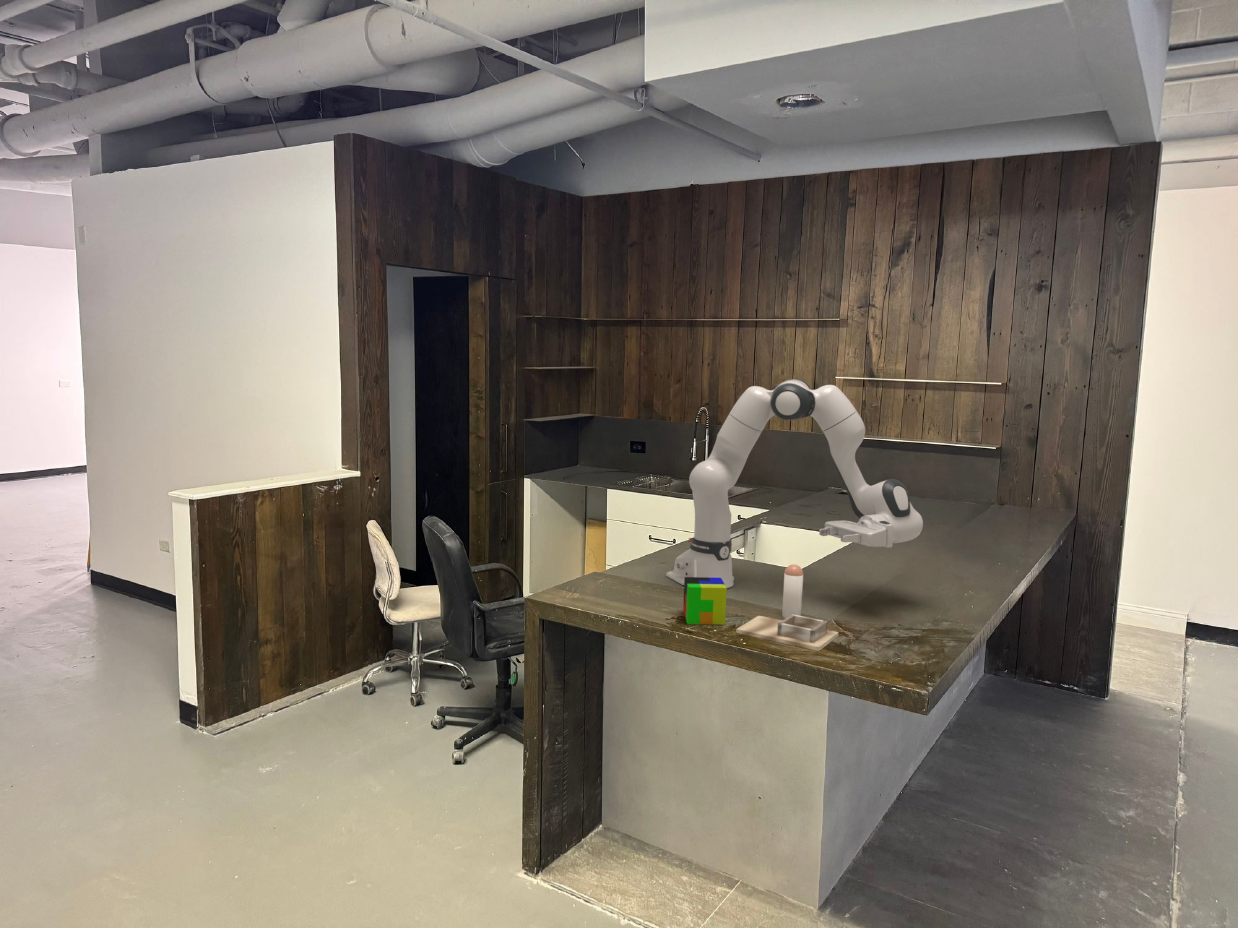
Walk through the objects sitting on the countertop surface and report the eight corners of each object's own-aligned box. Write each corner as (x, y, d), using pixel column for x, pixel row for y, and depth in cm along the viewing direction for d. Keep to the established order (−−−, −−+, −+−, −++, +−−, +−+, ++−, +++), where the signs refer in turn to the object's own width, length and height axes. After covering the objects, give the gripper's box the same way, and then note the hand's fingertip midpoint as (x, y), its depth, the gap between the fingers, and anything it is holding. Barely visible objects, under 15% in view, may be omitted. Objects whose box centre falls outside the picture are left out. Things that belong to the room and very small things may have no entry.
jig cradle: (736, 632, 218) (736, 617, 218) (758, 619, 230) (759, 604, 230) (818, 651, 207) (819, 635, 206) (838, 635, 218) (839, 620, 218)
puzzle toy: (719, 612, 235) (720, 577, 233) (725, 624, 225) (726, 587, 224) (683, 612, 234) (684, 576, 233) (687, 624, 225) (688, 587, 223)
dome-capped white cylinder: (778, 615, 234) (781, 563, 232) (791, 612, 237) (794, 561, 235) (791, 620, 230) (794, 567, 228) (804, 617, 233) (807, 565, 231)
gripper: (848, 513, 249) (808, 518, 244) (896, 525, 231) (855, 530, 225) (848, 534, 250) (808, 540, 245) (896, 548, 231) (855, 554, 226)
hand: (831, 535), depth 235 cm, fingers open, 8 cm apart
